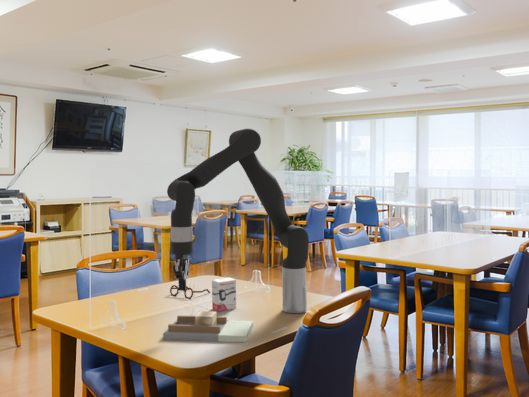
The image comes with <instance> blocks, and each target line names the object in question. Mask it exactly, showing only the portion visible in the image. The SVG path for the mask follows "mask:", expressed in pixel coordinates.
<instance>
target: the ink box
mask: <svg viewBox="0 0 529 397" xmlns="http://www.w3.org/2000/svg"><path fill="white" fill-rule="evenodd" d="M211 294H212V295H211V298H212V310H214V311H215V312H221V311H222V312H223V311H227V310H235V309H237V280H236V279H235V278H232V277H222V278H217V279H216V278H215V279H213V280H212V279H211Z"/></svg>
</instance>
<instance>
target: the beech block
mask: <svg viewBox="0 0 529 397" xmlns="http://www.w3.org/2000/svg"><path fill="white" fill-rule="evenodd" d="M217 312H218V311H207V310H206V311H205V310H204V311H201V310H200V311H198V312H197V313H196V314H195V315H194V316H195V325H212V326H216V325H217V317H218V316H217Z"/></svg>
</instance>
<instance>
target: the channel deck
mask: <svg viewBox="0 0 529 397" xmlns="http://www.w3.org/2000/svg"><path fill="white" fill-rule="evenodd" d="M195 316H196V315H181V314H179V315H177V316H176V320H175V321H174V322H172V324H171V323H170V324H168V325H167V329H166V330H165V331H164V332H163V333H162V337H163V338H162V340H169V339H172V340H174V341H201V342H202V341H203V342H204V341H205V342H225V343H226V342H228V343H229V342H231V343H232V342H233V343H247V340H248V339H249V336H250V335H251V333H252V330H253V329H254V321H253V320H229V319H228V317H227V316H217V325H216V326H212V325H195Z"/></svg>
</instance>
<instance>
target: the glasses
mask: <svg viewBox="0 0 529 397" xmlns="http://www.w3.org/2000/svg"><path fill="white" fill-rule="evenodd" d="M169 289H170V290H169V293H170V295H171V296H172V295H173V296H172V297H176V296H178V294H179V291H180V290H179V286H178V285H175V284H172V285H171V286H170V288H169ZM172 290H176V293H175V294H174V293H173V291H172ZM188 290H190V292H191V295H190V296H189V297H188V296H187V293H186V292H187V291H188ZM203 292H208V293H209V294H210V293H211V291H210V290H209V289H208V288H205V289H203V290H193V289H192V288H191V287H188V286H187V285H186V289H185V290H184V291H183V293H184V297H185V299H192V298H193V295H194V294H195V293H196V294H197V293H203Z"/></svg>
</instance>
